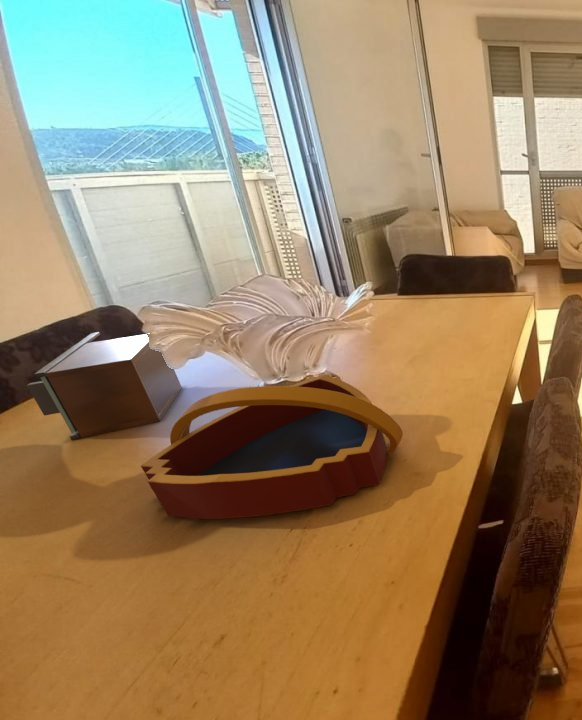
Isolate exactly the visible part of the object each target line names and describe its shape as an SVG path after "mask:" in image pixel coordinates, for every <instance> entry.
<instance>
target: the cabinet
mask: <svg viewBox="0 0 582 720" xmlns="http://www.w3.org/2000/svg"><path fill="white" fill-rule="evenodd" d="M147 334H148V333H145V334H139V335H138V334H137V335H132V336H126V337H117V338H112V339H105V340H97V341H94V340H95V339H96V338H98V337H100V336H101V332H99V331H96V332H90V334H88V335H87V336H86V337H84V338H82V339H81V340H80V341H78V342H77V343H75V344H74V345H73V346H71V347H70V348H68V349H67V350H66V351H64V352H63V353H61V354H59V356H57V357H56V358H55V359H53V360H52V361H50V362H49V363H47V364H46V365H44V366H43V367H42V368H40V369H38V370H37V371H36V372H35V373H33V375H34V377H35V378H38V377H42V376H45V375H47V377H48V379H49V381H50V382H51V384H52V386H53V388H54V390H55V391H56V393H57V395H58V397H59V399H60V400H61V402H62V404H63V406H64V408H65V409H66V411H67V413H68V415H69V416H70V418H71V420H72V422H73V424H74V425H75V427H76V429H77V432H76V433H71V434H70V435H69V439H70V440H71V441H74V440H78V439H84V438H88V437H92V436H98V435H102V434H106V433H112V432H116V431H121V430H125V429H130V428H135V427H140V426H145V425H150V424H155V423H158V422H161V420H162V419H163V418H164V416H165V415H166V413H167V411H168V410H169V408H170V407H171V406H172V403H173V402H174V401H175V399H176V397H178V395H179V393H180V391H181V390H182V388H183V386H182V385H181V382H180V380H179V378H178V375H177V373H176V371H175V368H174V369H171V368H169V367H168V366H167V364H166V362H165V360H164V358H163V356H162V353H161V352H159V351H155V350H152V349H150V347H149V337H148V335H147Z"/></svg>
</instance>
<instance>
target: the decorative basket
mask: <svg viewBox="0 0 582 720" xmlns="http://www.w3.org/2000/svg"><path fill="white" fill-rule="evenodd" d="M231 408H234V409H233V410H230V411H229V412H228V411H227V412H226V413H224V414H223V415H221V416H218V417H216V418H215V419H212V420H211V421H209V422H207V423H205V424H203V425H202V426H199V427H198V428H196V429H194V430H193V431H191V430H190V428H191V424H192V422H193V421H194V420H195V419H197V418H199V417H201V416H203V415H205V414H209V413H212V412H216V411H221V410H225V409H231ZM403 436H404V434H403V429H402V427H401V426H400V425H399V423H398V422H397V421H396V420H395V419H394V418H393V417H392V416H391V415H389V414H388V413H387V412H385V410H383V409H381V408H380V407H378V406H376V405H375V404H373V403H372V401H371V400H370V399H369V398H368V396H367V395H365V393H363V392H362V391H361V390H359V389H358V388H357V387H356V386H353V385H351V384H350V383H348V382H345V381H343V380H341V379H338V378H336V377H333V376H329V375H326V374H321V375H318V376H314V377H311V378H308V379H305V380H303V381H299V382H296V383H293V384H290V385H267V386H265V385H263V386H248V387H247V386H246V387H239V388H233V389H228V390H223V391H219V392H217V393H213V394H210V395H208V396H205V397H203V398H200V399H199V400H197V401H195V402H193V404H191V405H190V406H189V407H188V408H187V409H186V410H185V411H184V412H183V414H182V415H181V416H180V417H179V419H178V420H177V421H176V422H175V423H174V425H173V426H172V428H171V431H170V435H169V441H170V445H168V446H167V447H165V448H164V449H162V450H161V451H159V452H158V453H156V454H155V455H153V456H152V457H150V458H149V459H148V460H146V461H145V462H144V463H142V464H141V465H140V467H141V469H142V471H143V472H144V475H145V476H146V478H147V479H148V480H147V484H148V485H149V487H150V488H151V490H152V491H153V493H154V495H155V497H156V498H157V500H158V501H159V503H160V504H161V506H162V508H163V510H164V511H165V513H166V515H167V516H169V517H178V518H187V519H188V518H189V519H203V520H205V519H206V520H216V519H217V520H219V519H231V518H246V517H247V518H248V517H249V518H250V517H260V516H267V515H269V516H270V515H277V514H282V513H290V512H295V511H302V510H309V509H315V508H319V507H325V506H331V505H333V503H334V502H335V500H336V498H339V497H344V496H345V497H346V496H352V495H356V493H357V491H359V489H360V488H365V487H372V486H376V485H380V484H381V481H382V479H383V476H384V474H385V470H386V467H387V462H388V456H389V455H391V454H393V453H394V452H395V451H396V450H397V448H398V446H399V444H400V443H401V440H402V438H403ZM385 437H387V438H388V441H389V444H387V442H386V439H385Z"/></svg>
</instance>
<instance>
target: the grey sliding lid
mask: <svg viewBox="0 0 582 720" xmlns="http://www.w3.org/2000/svg"><path fill="white" fill-rule="evenodd" d="M39 377H40V380H39V381H34V382H29V383H28V384H27V385H26V387H27V388H28V389H27V390H28V391H29V392H30V394H31V395H32V398H33V399H34V400H35V402H36V404H37V406H38V408H39V410H40V411H41V413H42V414H43V417H44V416H50V415H55V414H60V415H61V417H62V419H63V420H64V422H65V424H66V426H67V427H68V429H69V431H70V433H71V434H72V433H76V432H77V429H76V427H75V425H74V424H73V422H72V420H71V418H70V416H69V415H68V413H67V411H66V409H65V408H64V406H63V404H62V402H61V400H60V399H59V397H58V395H57V393H56V391H55V390H54V388H53V386H52V384H51V382H50V381H49V379H48V377H47V375H45V376H39Z"/></svg>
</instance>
